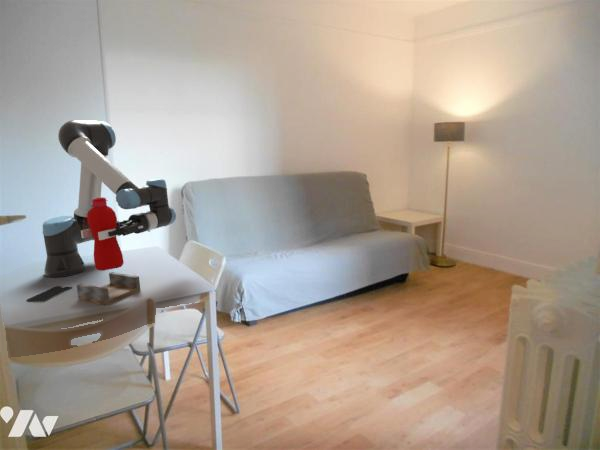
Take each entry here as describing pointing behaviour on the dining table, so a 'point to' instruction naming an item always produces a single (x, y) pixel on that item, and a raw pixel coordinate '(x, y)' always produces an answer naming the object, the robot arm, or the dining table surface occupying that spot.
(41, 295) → the smartphone
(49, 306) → the dining table surface
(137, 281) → the bottle holder
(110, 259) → the water bottle
